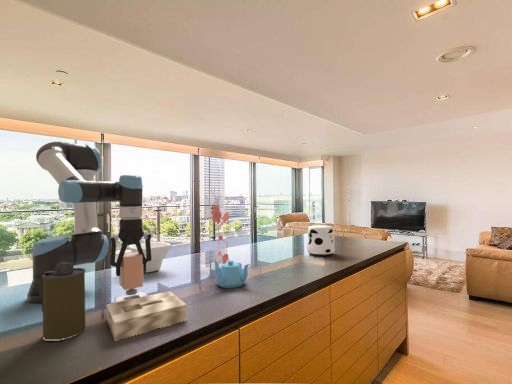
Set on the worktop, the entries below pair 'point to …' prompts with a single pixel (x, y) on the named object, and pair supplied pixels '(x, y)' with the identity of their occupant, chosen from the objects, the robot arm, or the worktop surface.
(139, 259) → the stud block
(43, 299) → the canister
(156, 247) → the bowl
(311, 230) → the milk container
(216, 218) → the pink leafy branch
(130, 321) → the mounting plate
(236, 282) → the teapot
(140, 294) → the frame
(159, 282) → the worktop surface
